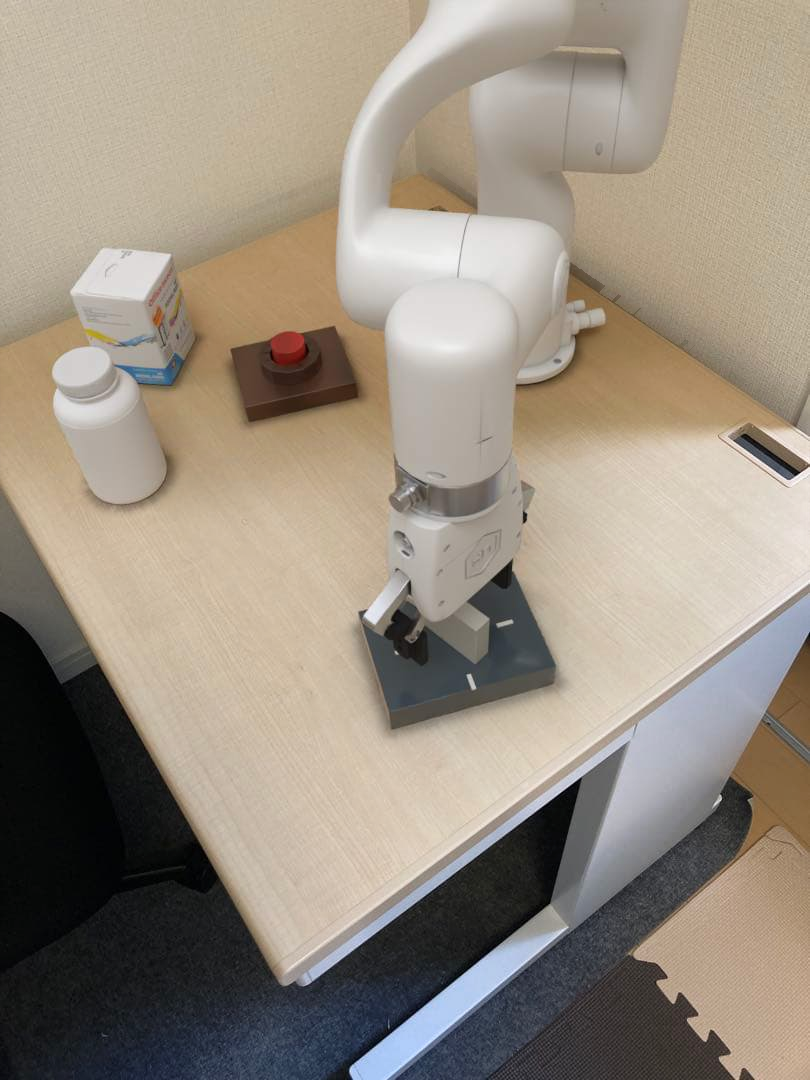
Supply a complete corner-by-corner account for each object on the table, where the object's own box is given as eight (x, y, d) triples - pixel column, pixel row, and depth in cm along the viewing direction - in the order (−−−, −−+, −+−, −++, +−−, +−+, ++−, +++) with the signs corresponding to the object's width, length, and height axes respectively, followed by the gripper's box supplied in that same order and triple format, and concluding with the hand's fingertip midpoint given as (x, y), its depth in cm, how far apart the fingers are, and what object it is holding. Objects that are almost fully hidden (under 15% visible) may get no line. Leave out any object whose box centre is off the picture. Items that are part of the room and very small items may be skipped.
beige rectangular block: (488, 652, 74) (489, 616, 70) (475, 665, 73) (476, 629, 69) (434, 611, 77) (433, 574, 73) (421, 622, 76) (419, 586, 72)
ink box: (172, 387, 101) (143, 300, 91) (101, 380, 102) (65, 293, 93) (198, 337, 106) (173, 250, 97) (130, 331, 107) (99, 244, 98)
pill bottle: (99, 518, 89) (44, 405, 77) (83, 464, 94) (29, 350, 82) (177, 491, 91) (135, 377, 79) (158, 439, 96) (116, 325, 84)
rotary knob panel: (511, 589, 82) (513, 568, 79) (553, 685, 75) (557, 665, 73) (360, 629, 80) (357, 609, 77) (391, 731, 74) (389, 712, 71)
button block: (336, 340, 104) (333, 312, 101) (358, 397, 98) (354, 369, 95) (233, 363, 103) (226, 335, 100) (248, 422, 97) (241, 394, 93)
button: (302, 340, 99) (300, 328, 98) (309, 361, 97) (307, 348, 95) (270, 348, 98) (267, 335, 97) (276, 369, 96) (273, 356, 95)
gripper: (400, 575, 53) (411, 715, 66) (581, 421, 61) (559, 575, 74) (314, 510, 57) (341, 656, 70) (495, 372, 64) (489, 528, 77)
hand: (453, 614), depth 72 cm, fingers open, 9 cm apart
